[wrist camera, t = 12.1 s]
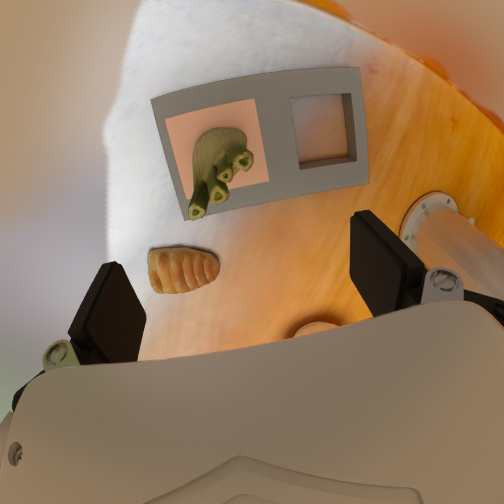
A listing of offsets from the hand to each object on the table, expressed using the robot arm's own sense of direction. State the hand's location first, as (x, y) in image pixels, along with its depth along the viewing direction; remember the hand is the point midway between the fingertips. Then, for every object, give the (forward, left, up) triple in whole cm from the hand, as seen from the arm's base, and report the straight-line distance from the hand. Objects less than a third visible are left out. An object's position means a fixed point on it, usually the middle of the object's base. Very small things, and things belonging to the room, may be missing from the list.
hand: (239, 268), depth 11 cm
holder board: (-5, -1, -23) cm, 23 cm away
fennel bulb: (0, -1, -20) cm, 20 cm away
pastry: (+9, +13, -23) cm, 28 cm away
